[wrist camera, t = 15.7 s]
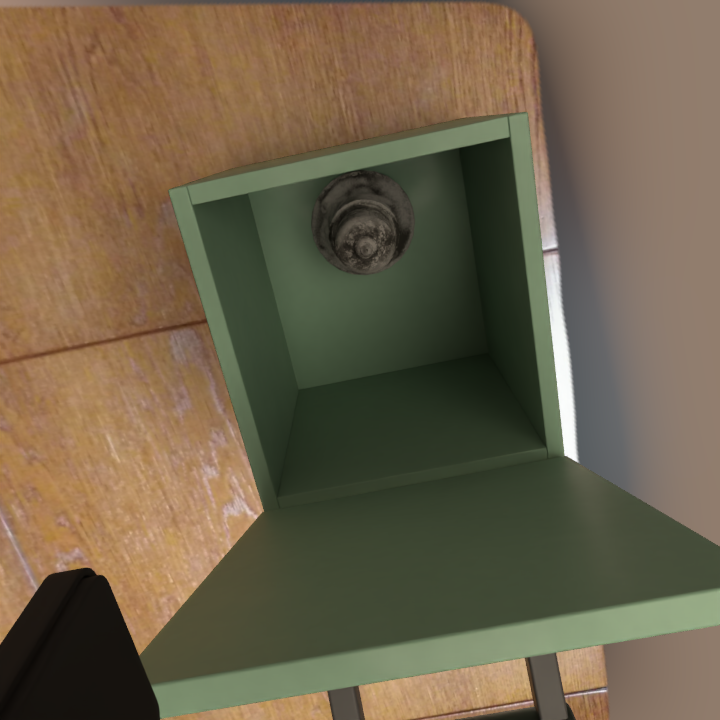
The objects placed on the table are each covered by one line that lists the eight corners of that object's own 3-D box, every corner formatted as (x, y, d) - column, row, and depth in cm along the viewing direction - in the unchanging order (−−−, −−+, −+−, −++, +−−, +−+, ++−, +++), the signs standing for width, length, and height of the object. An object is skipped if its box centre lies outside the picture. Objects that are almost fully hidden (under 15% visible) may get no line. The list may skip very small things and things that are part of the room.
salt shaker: (311, 168, 38) (293, 185, 27) (408, 164, 38) (432, 179, 27) (317, 265, 40) (304, 318, 29) (410, 260, 40) (433, 312, 29)
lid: (105, 692, 14) (151, 928, 14) (776, 578, 13) (826, 829, 13) (261, 511, 30) (283, 620, 30) (566, 455, 30) (588, 567, 30)
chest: (230, 168, 39) (167, 189, 26) (466, 117, 38) (528, 111, 25) (291, 397, 44) (264, 514, 31) (499, 357, 43) (565, 459, 30)
